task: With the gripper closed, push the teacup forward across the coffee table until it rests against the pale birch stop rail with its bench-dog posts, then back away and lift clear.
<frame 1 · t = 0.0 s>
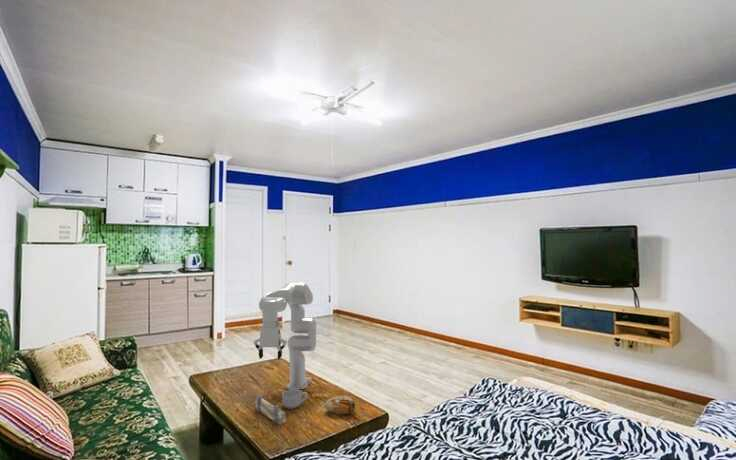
hand: (270, 358, 189), 31 cm above the table, tool pointing down, fingers open, 9 cm apart
teacup: (294, 407, 204), on the table
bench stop: (270, 415, 193), on the table
nautilus: (343, 414, 193), on the table
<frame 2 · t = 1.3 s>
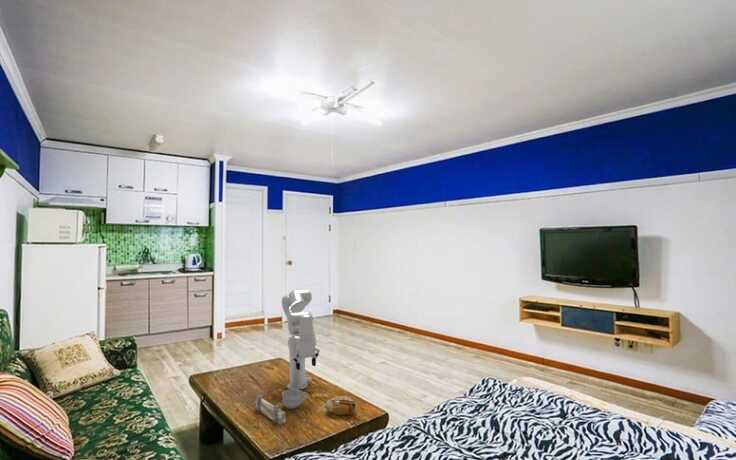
hand: (306, 367, 209), 20 cm above the table, tool pointing down, fingers open, 9 cm apart
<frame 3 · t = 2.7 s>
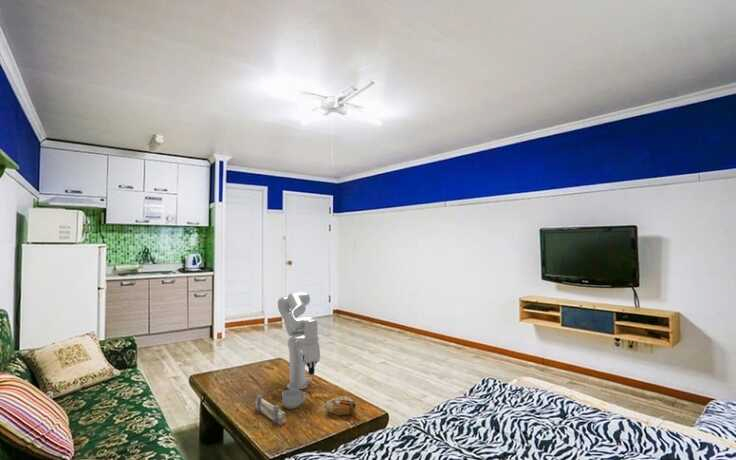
hand: (311, 373, 211), 15 cm above the table, tool pointing down, fingers closed
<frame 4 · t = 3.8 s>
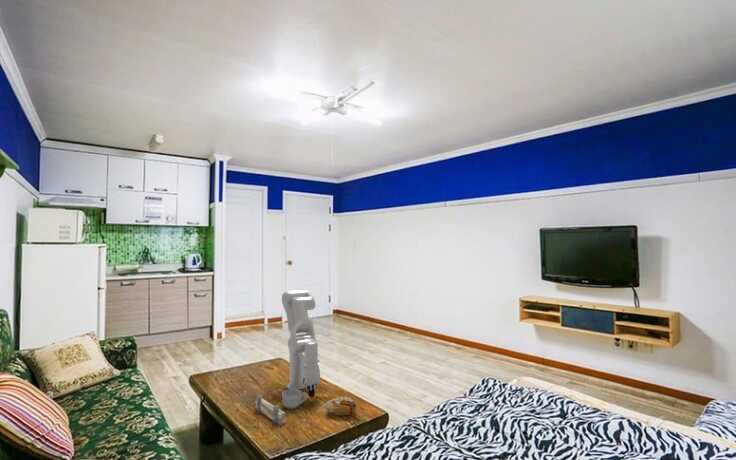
hand: (311, 396, 211), 2 cm above the table, tool pointing down, fingers closed
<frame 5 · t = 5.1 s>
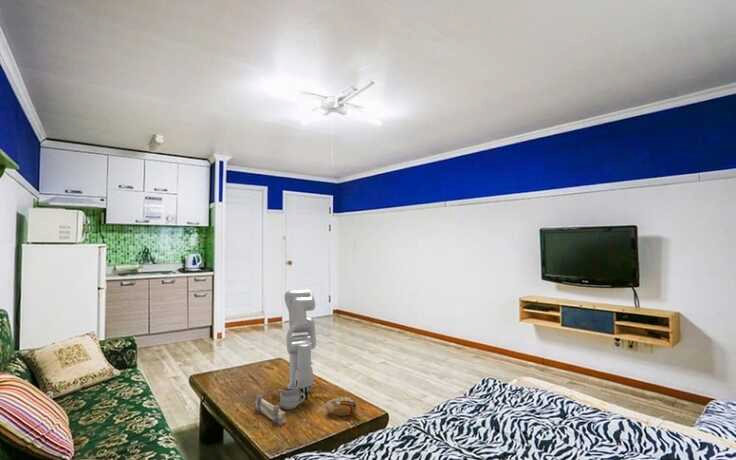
hand: (304, 399, 208), 2 cm above the table, tool pointing down, fingers closed
teacup: (292, 407, 202), on the table, touching gripper
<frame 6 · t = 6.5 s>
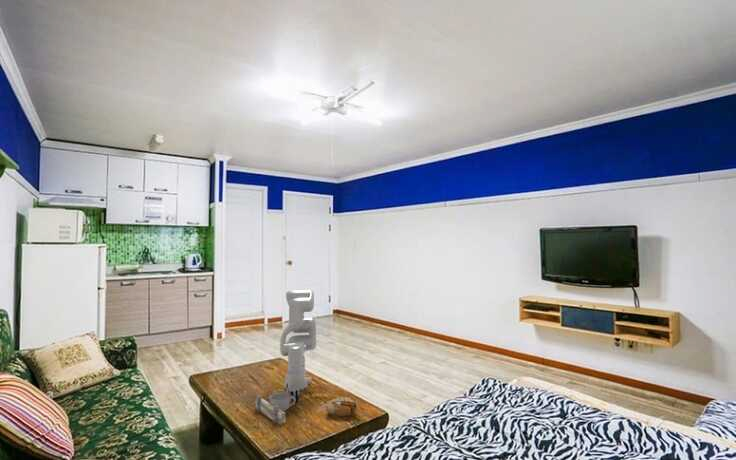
hand: (295, 402, 204), 2 cm above the table, tool pointing down, fingers closed
teacup: (282, 411, 199), on the table, touching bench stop, gripper
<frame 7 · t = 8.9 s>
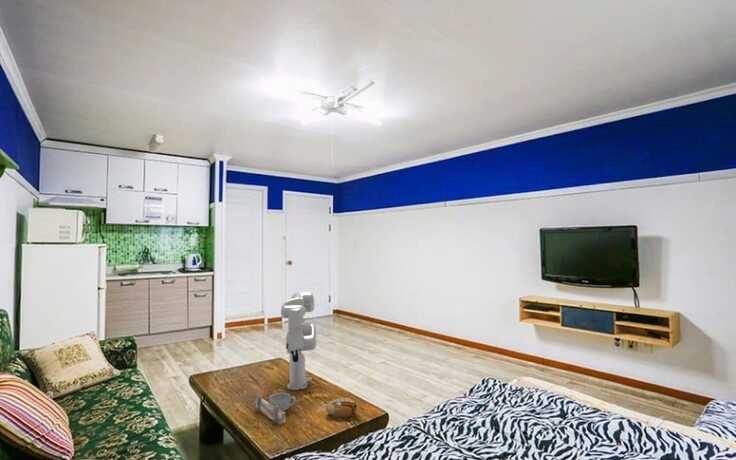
hand: (295, 361, 214), 22 cm above the table, tool pointing down, fingers closed
teacup: (282, 411, 199), on the table, touching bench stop
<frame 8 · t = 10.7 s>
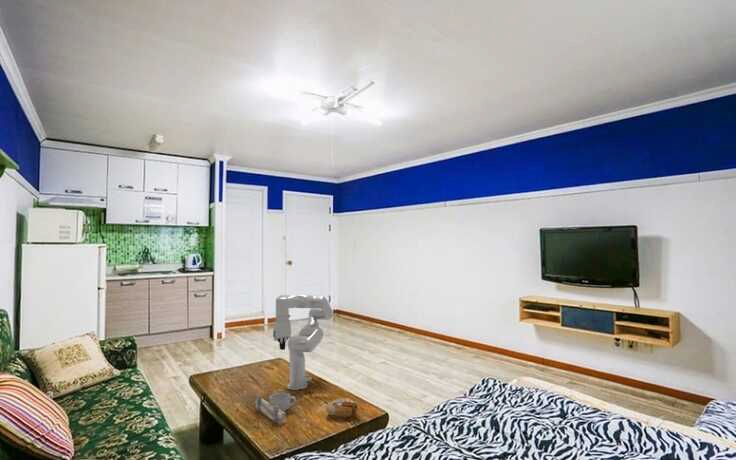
hand: (282, 349, 220), 27 cm above the table, tool pointing down, fingers closed
at the end: teacup inside the target area (0.9 cm from its centre), on the table; teacup tilted 0° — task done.
